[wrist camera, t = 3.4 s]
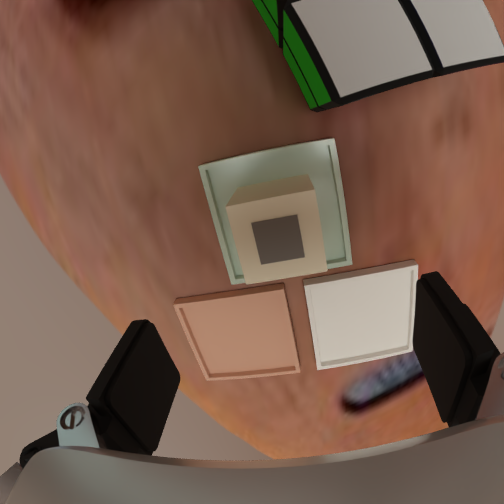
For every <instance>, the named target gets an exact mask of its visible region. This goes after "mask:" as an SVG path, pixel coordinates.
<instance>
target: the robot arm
mask: <svg viewBox="0 0 504 504" xmlns="http://www.w3.org/2000/svg"><path fill="white" fill-rule="evenodd" d="M412 342H413V348H414V351H415V353H416V356H417V358H418V360H419V363H420V365H421V368H422V370H423V372H424V375H425V377H426V380H427V382H428V385H429V388H430V390H431V393H432V395H433V398H434V401H435V403H436V406H437V409H438V412H439V414H440V417H441V420H442V421H443V422H444V423H445V422H447V423H448V426H449V428H446V429H443V430H439V431H436V432H433V433H429V434H426V435H422V436H418V437H414V438H410V439H406V440H402V441H398V442H394V443H389V444H385V445H380V446H376V447H371V448H366V449H360V450H355V451H349V452H342V453H336V454H328V455H321V456H312V457H302V458H291V459H276V460H255V461H254V460H252V461H217V460H194V459H178V458H167V457H158V456H152V453H153V451H155V450H156V449H157V447H158V444H159V441H160V438H161V435H162V432H163V429H164V426H165V423H166V420H167V418H168V415H169V412H170V409H171V406H172V403H173V400H174V397H175V394H176V391H177V389H178V386H179V383H180V374H179V371H178V370H177V368H176V366H175V364H174V362H173V360H172V359H171V357H170V355H169V353H168V351H167V349H166V347H165V345H164V343H163V341H162V339H161V337H160V335H159V333H158V331H157V329H156V327H155V326H154V324H153V323H150V321H148V320H146V319H145V320H135V321H132V322H131V324H130V325H129V327H128V328H127V330H126V331H125V333H124V335H123V336H122V338H121V339H120V341H119V343H118V345H117V346H116V348H115V349H114V351H113V353H112V354H111V356H110V358H109V359H108V361H107V363H106V364H105V366H104V367H103V369H102V371H101V372H100V374H99V376H98V378H97V379H96V381H95V383H94V384H93V386H92V388H91V390H90V391H89V393H88V395H87V397H86V399H87V401H88V402H89V405H88V406H86V405H85V404H83V403H74V404H71V405H69V406H67V407H66V408H65V409H63V410H62V411H61V413H60V415H59V416H58V419H57V429H56V430H54V431H53V432H51V433H49V434H47V435H45V436H43V437H41V438H39V439H38V440H36V441H34V442H32V443H30V444H29V445H27V446H26V447H24V449H23V450H22V453H21V455H20V464H19V463H18V462H16V463H15V464H14V465H13V466H12V467H10V468H9V469H8V470H7V471H6V472H5V473H4V474H2V475H1V476H0V504H504V353H502V354H500V352H499V351H498V349H497V347H496V346H495V345H494V343H493V341H492V340H491V338H490V337H489V335H488V334H487V333H486V331H485V330H484V328H483V327H482V325H481V324H480V322H479V321H478V320H477V318H476V317H475V316H474V314H473V313H472V311H471V310H470V309H469V307H468V306H467V305H466V304H463V303H462V302H461V301H460V299H459V298H458V297H457V295H456V294H455V293H454V291H453V290H452V289H451V287H450V286H449V285H448V284H447V282H446V281H445V280H444V279H443V277H442V276H441V275H440V274H439V272H437V271H435V272H431V273H426V274H422V275H421V278H420V279H419V280H417V282H416V299H415V316H414V329H413V340H412Z"/></svg>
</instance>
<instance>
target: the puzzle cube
mask: <svg viewBox="0 0 504 504" xmlns="http://www.w3.org/2000/svg"><path fill="white" fill-rule="evenodd" d="M252 1H253V3H254V5H255V6H256V8H257V10H258V11H259V13H260V15H261V16H262V18H263V20H264V21H265V23H266V25H267V27H268V28H269V30H270V32H271V34H272V36H273V37H274V39H275V41H276V43H277V45H278V46H279V47H280V48H283V55H284V57H285V59H286V61H287V63H288V65H289V67H290V69H291V71H292V73H293V75H294V76H295V78H296V80H297V83H298V85H299V87H300V89H301V91H302V93H303V95H304V97H305V99H306V101H307V103H308V105H309V108H310V110H313V111H315V112H319V111H323V110H327V109H331V108H335V107H339V106H343V105H345V104H348V103H351V102H354V101H357V100H360V99H363V98H366V97H369V96H372V95H375V94H378V93H381V92H384V91H387V90H390V89H394V88H397V87H400V86H404V85H407V84H411V83H414V82H418V81H421V80H425V79H429V78H433V77H437V76H443V75H447V74H451V73H455V72H459V71H464V70H468V69H473V68H477V67H482V66H487V65H492V64H498V63H503V62H504V46H503V43H502V41H501V38H500V36H499V34H498V31H497V29H496V27H495V25H494V23H493V20H492V18H491V16H490V14H489V12H488V10H487V8H486V6H485V4H484V2H483V0H252Z"/></svg>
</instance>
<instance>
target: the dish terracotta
mask: <svg viewBox="0 0 504 504" xmlns="http://www.w3.org/2000/svg"><path fill="white" fill-rule="evenodd" d="M173 306H174V308H175V310H176V313H177V315H178V318H179V320H180V322H181V325H182V327H183V330H184V332H185V334H186V337H187V339H188V341H189V343H190V346H191V348H192V350H193V352H194V355H195V357H196V359H197V361H198V363H199V366H200V368H201V370H202V372H203V374H204V376H205V378H206V381H210V380H228V379H242V378H254V377H265V376H274V375H283V374H292V373H300V372H301V370H300V361H299V356H298V351H297V346H296V340H295V335H294V330H293V325H292V321H291V316H290V311H289V306H288V301H287V296H286V291H285V286H284V283H279V284H273V285H267V286H260V287H254V288H247V289H241V290H234V291H227V292H220V293H213V294H206V295H199V296H192V297H184V298H177V299H176V300H175V302H174V304H173Z"/></svg>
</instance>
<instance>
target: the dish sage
mask: <svg viewBox="0 0 504 504" xmlns="http://www.w3.org/2000/svg"><path fill="white" fill-rule="evenodd" d="M198 168H199V171H200V175H201V179H202V182H203V186H204V190H205V193H206V197H207V201H208V204H209V208H210V211H211V215H212V219H213V222H214V226H215V229H216V233H217V236H218V240H219V243H220V247H221V250H222V254H223V257H224V261H225V264H226V267H227V271H228V274H229V278H230V281H231V284H232V285H233V284H240V283H246V282H245V278H244V275H243V271H242V267H241V264H240V260H239V256H238V253H237V249H236V245H235V241H234V238H233V234H232V230H231V226H230V223H229V219H228V215H227V211H226V208H225V207H226V205H227V203H228V202H229V200H230V199H231V197H232V195H233V194H234V192H235V191H236V189H237V188H238V187H243V186H247V185H252V184H257V183H262V182H267V181H272V180H277V179H282V178H288V177H293V176H298V175H304V174H308V176H309V178H310V180H311V182H312V184H313V186H314V189H315V193H316V199H317V204H318V210H319V216H320V222H321V229H322V235H323V242H324V248H325V255H326V262H327V269H331V268H337V267H342V266H348V265H352V256H351V247H350V238H349V229H348V221H347V214H346V206H345V199H344V192H343V186H342V179H341V173H340V167H339V161H338V156H337V150H336V145H335V139H334V138H325V139H319V140H313V141H307V142H302V143H296V144H291V145H285V146H280V147H275V148H270V149H265V150H260V151H256V152H251V153H247V154H242V155H238V156H233V157H229V158H225V159H221V160H216V161H212V162H208V163H204V164H201V165H199V166H198Z"/></svg>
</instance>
